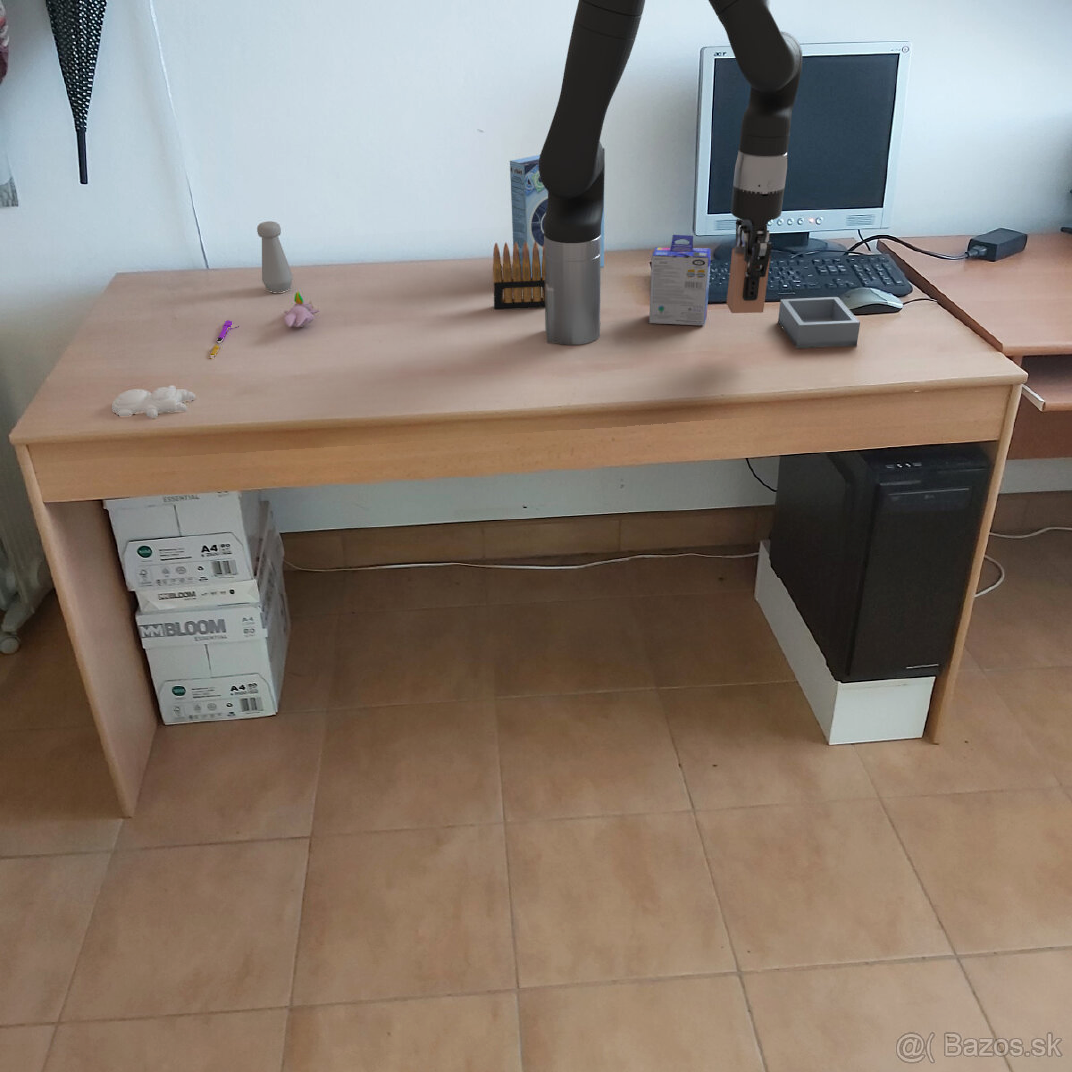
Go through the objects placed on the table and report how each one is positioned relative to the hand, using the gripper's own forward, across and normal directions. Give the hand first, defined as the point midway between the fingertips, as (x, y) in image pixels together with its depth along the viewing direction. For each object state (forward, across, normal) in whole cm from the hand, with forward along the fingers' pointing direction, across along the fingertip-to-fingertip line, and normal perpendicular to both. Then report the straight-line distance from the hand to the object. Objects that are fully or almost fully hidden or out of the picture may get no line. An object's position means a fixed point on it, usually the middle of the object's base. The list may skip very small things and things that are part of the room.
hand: (746, 294), depth 159 cm
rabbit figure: (+12, -21, -74) cm, 78 cm away
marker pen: (+13, -16, -87) cm, 89 cm away
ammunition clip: (+11, -26, -34) cm, 45 cm away
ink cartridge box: (+11, -16, -7) cm, 20 cm away
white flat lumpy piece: (+13, +10, -92) cm, 94 cm away
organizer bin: (+10, -7, +15) cm, 19 cm away
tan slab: (+2, 0, 0) cm, 2 cm away
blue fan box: (+11, -43, -26) cm, 52 cm away
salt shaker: (+12, -40, -82) cm, 92 cm away
